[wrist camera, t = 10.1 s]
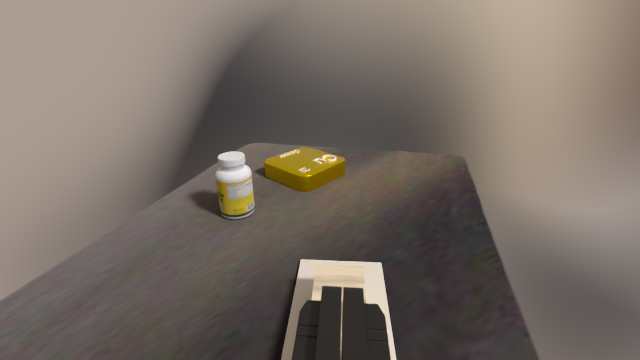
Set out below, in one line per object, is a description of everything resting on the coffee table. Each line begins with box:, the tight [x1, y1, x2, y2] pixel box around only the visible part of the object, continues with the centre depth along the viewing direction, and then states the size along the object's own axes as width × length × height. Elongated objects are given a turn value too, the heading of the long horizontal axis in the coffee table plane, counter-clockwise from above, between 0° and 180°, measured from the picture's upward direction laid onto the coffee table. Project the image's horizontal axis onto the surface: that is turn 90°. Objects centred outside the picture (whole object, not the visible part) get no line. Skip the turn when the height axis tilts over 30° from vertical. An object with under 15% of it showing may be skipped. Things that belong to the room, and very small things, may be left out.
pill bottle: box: [215, 152, 255, 219], centre depth 61 cm, size 6×6×12 cm
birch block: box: [311, 265, 366, 360], centre depth 36 cm, size 4×6×14 cm
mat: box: [281, 259, 396, 360], centre depth 40 cm, size 18×12×1 cm, turn 176°
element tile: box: [264, 147, 345, 192], centre depth 79 cm, size 15×15×5 cm
